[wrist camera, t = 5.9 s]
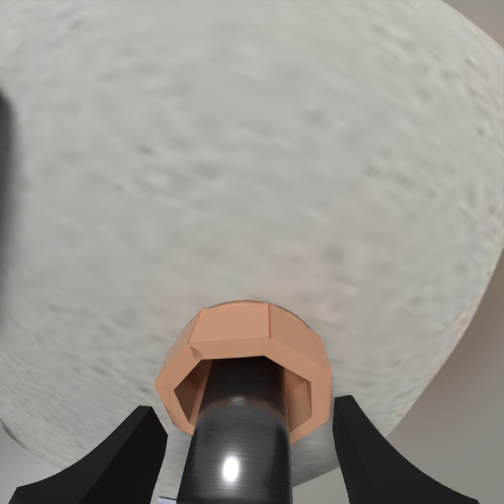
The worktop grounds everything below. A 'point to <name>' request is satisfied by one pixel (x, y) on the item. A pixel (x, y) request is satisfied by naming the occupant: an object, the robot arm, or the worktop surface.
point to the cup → (245, 345)
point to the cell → (240, 437)
